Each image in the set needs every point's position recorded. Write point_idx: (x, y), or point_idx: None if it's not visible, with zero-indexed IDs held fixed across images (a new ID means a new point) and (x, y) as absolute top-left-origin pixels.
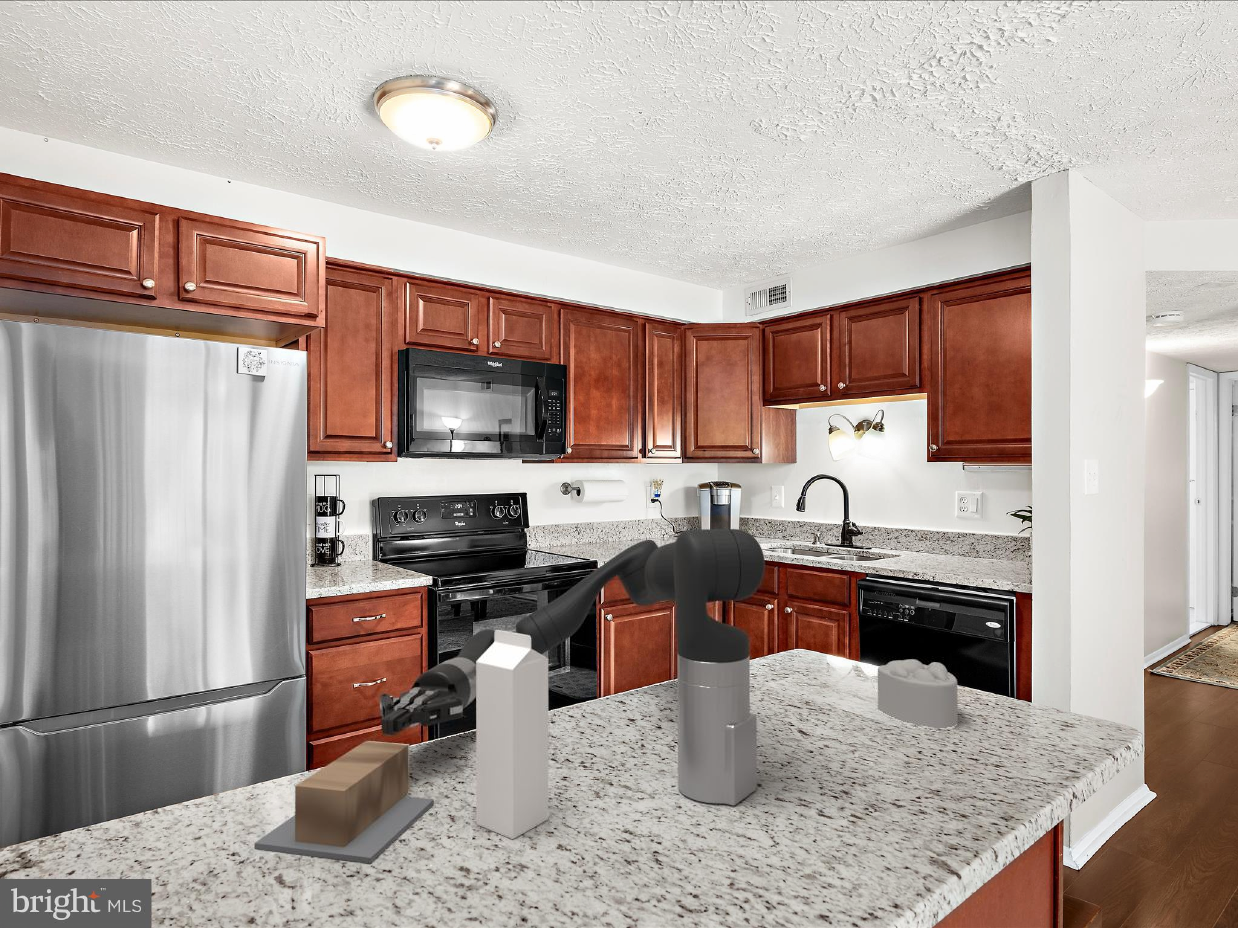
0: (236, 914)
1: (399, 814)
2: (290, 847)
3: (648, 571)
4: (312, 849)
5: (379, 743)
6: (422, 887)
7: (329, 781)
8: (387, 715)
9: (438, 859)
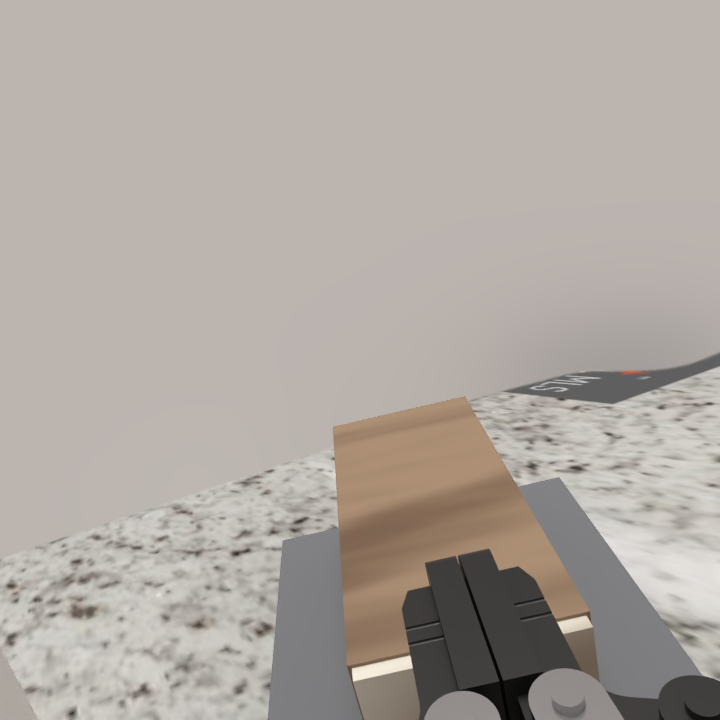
0: None
1: (326, 686)
2: None
3: None
4: None
5: None
6: (156, 550)
7: (405, 429)
8: (497, 573)
9: (148, 613)
